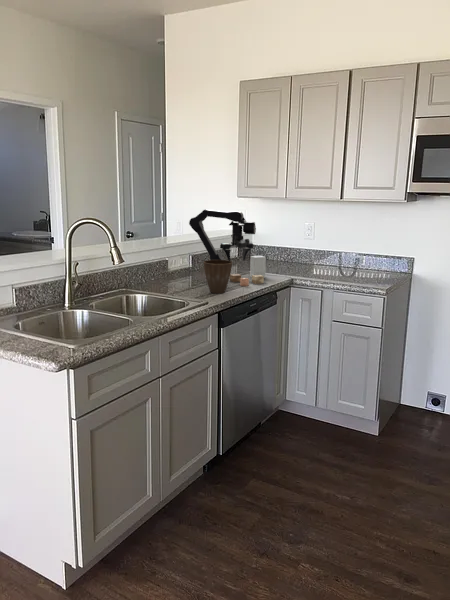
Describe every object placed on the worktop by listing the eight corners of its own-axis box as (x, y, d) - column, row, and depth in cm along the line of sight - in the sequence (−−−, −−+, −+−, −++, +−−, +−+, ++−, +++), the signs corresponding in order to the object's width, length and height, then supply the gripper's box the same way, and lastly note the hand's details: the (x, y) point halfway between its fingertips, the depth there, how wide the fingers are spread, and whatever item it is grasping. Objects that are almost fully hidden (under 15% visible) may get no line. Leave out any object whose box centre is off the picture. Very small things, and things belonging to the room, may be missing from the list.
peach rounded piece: (242, 286, 280) (242, 279, 279) (238, 285, 284) (238, 278, 283) (250, 286, 281) (250, 279, 280) (246, 284, 286) (246, 277, 285)
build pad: (253, 285, 284) (253, 284, 284) (247, 282, 292) (247, 281, 292) (268, 284, 287) (268, 283, 287) (261, 281, 296) (261, 280, 296)
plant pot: (212, 288, 275) (212, 258, 272) (236, 290, 269) (237, 261, 265) (198, 293, 262) (198, 262, 259) (223, 296, 256) (223, 264, 252)
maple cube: (255, 283, 287) (255, 276, 286) (251, 282, 291) (251, 275, 290) (263, 283, 288) (263, 276, 288) (259, 281, 293) (259, 274, 292)
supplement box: (265, 277, 306) (266, 257, 303) (254, 278, 304) (254, 257, 301) (261, 275, 313) (261, 255, 310) (249, 276, 310) (250, 255, 308)
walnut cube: (233, 282, 291) (233, 275, 290) (229, 281, 296) (229, 274, 295) (241, 282, 293) (241, 275, 292) (237, 280, 298) (237, 273, 297)
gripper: (228, 235, 278) (227, 263, 281) (258, 234, 285) (257, 262, 289) (220, 233, 288) (219, 260, 291) (249, 232, 295) (248, 259, 299)
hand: (236, 260), depth 292 cm, fingers open, 9 cm apart
